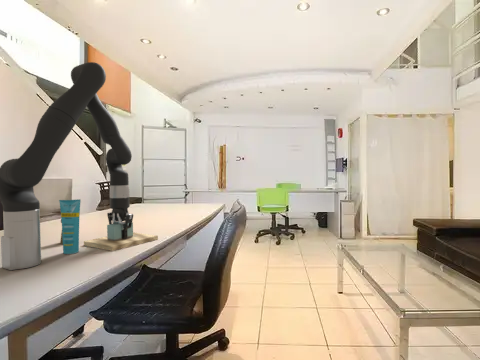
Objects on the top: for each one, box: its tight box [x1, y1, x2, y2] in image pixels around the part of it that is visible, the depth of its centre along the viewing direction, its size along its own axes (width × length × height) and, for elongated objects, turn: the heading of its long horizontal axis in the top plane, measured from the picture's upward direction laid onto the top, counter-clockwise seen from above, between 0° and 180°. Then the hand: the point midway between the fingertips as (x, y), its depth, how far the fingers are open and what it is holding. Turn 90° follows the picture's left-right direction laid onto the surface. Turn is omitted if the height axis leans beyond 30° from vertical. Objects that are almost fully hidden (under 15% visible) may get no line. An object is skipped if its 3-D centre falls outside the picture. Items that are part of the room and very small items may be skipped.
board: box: [83, 231, 159, 252], centre depth 125 cm, size 22×18×2 cm
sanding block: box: [106, 221, 134, 241], centre depth 124 cm, size 9×4×6 cm, turn 149°
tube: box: [58, 198, 82, 255], centre depth 109 cm, size 7×5×19 cm, turn 98°
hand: (120, 237), depth 124 cm, fingers closed on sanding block, 4 cm apart
